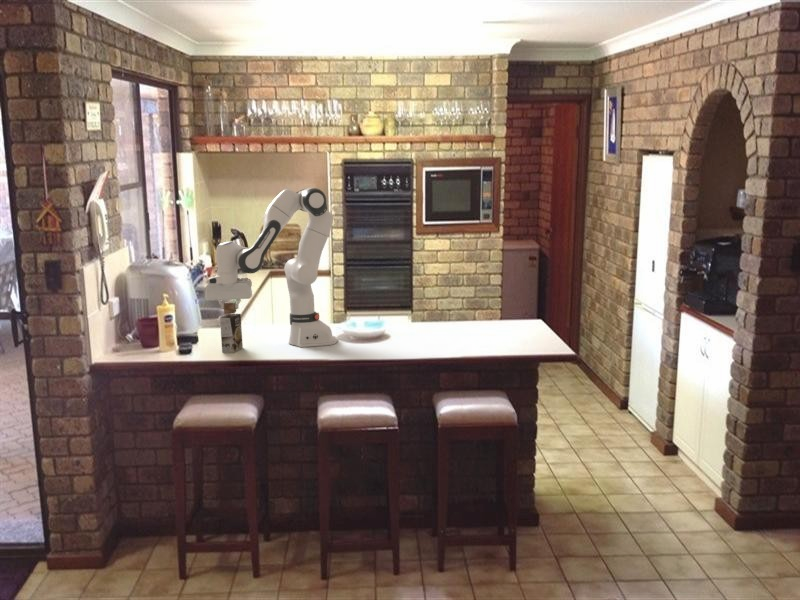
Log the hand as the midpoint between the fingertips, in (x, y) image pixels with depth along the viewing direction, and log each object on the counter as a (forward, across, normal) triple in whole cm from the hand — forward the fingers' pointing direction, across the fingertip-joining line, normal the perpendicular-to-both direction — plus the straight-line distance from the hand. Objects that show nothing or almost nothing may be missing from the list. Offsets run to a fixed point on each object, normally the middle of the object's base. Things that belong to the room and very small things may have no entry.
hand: (230, 308), depth 330 cm
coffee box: (+19, 0, 0) cm, 19 cm away
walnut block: (+2, 0, 0) cm, 2 cm away
